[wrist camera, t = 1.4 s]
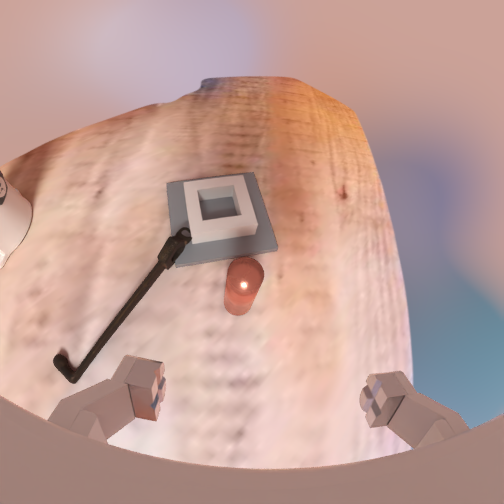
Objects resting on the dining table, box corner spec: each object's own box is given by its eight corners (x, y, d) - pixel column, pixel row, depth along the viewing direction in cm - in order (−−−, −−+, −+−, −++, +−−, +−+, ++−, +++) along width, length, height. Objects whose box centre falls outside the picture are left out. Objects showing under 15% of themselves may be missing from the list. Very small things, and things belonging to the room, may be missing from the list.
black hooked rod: (61, 361, 34) (174, 223, 44) (81, 385, 33) (198, 241, 44) (44, 361, 29) (169, 207, 39) (65, 387, 28) (195, 227, 39)
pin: (227, 317, 39) (231, 294, 29) (221, 291, 41) (224, 260, 31) (254, 312, 40) (268, 287, 30) (247, 286, 42) (258, 254, 32)
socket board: (176, 267, 42) (173, 256, 38) (167, 186, 48) (164, 171, 45) (276, 250, 45) (282, 238, 41) (252, 175, 52) (255, 161, 48)
